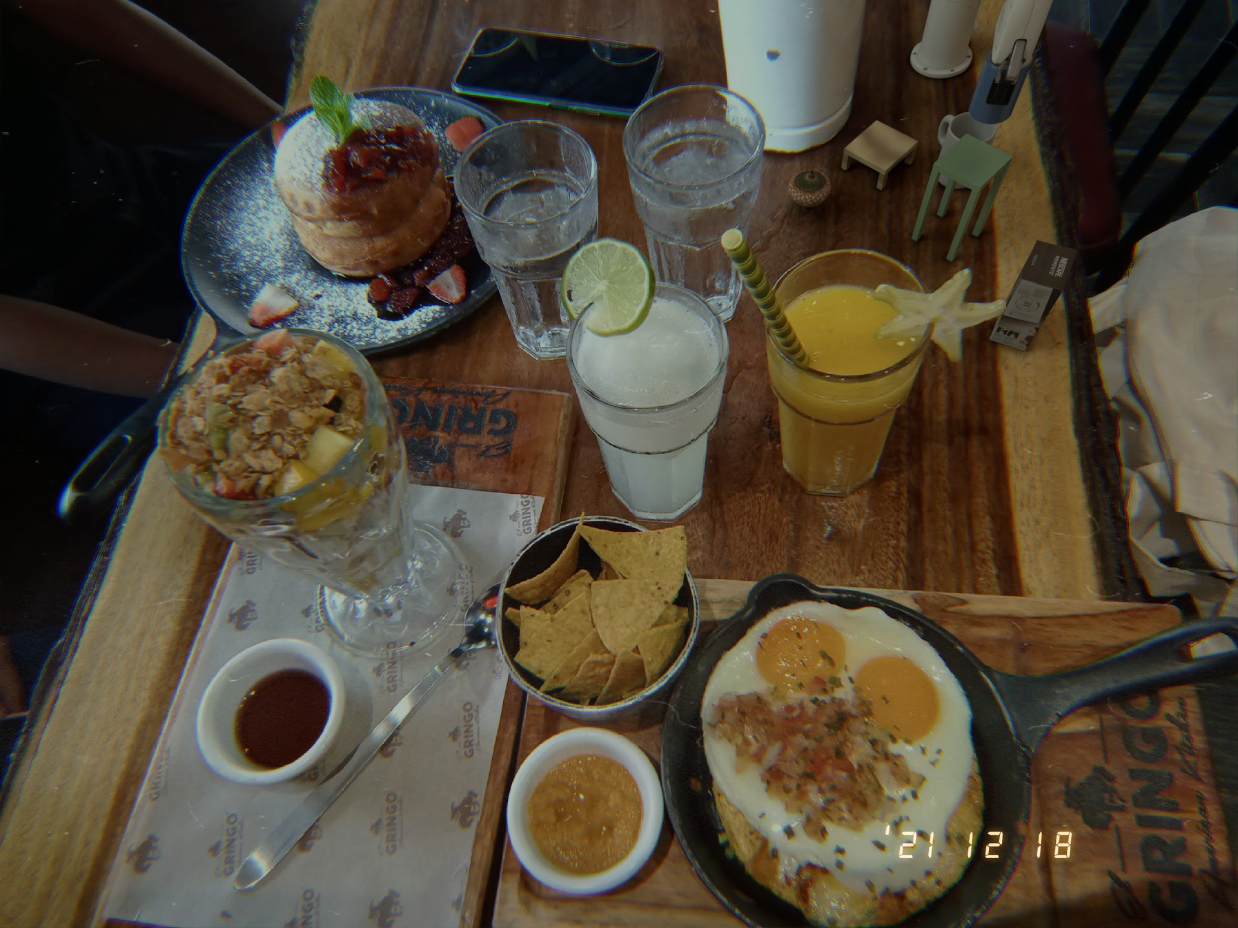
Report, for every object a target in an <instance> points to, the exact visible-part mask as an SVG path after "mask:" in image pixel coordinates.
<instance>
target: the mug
mask: <svg viewBox="0 0 1238 928" xmlns="http://www.w3.org/2000/svg"><path fill="white" fill-rule="evenodd" d="M947 126H948V127H947ZM997 130H998V126H997V124H984V123H981V122H978V121H976V120H975V119H973V118H972V117H971V115H970V113H969V111H967V112H962V113H960V114H958V115H953V114H947V115H945V116H944V117H943V118H942V120H941V122H940V124H939V127H938V131H937V142H938V143H939V145H940V146H941V150H940V152H939V156H938V159H939V158H940V157H942V156H943V155H944V154H945V153H946V152H947V151H948V150H949V149H950V148H951V147H952V146H954V145H955V144H956V143H957V142H958V141H959V140H960V139H961V138H962V137H963V136H964V135H966V134H968V135H970V136H973V137H975V138H977V139H979V140H981V141H983V142H985V143H987V144H989V145H991V146H993V143H994V141H995V138H996V134H997V132H998V131H997ZM948 179H949V177H947V176H945V175H943V174H940V177H939V180H938V183H940V184H941V185H942V186H943V187H946V185H947V182H948ZM962 189H968V187H966V186H964V185H962V184H960V183H958V182H957V183H956V185H955V188H954V190H962Z"/></svg>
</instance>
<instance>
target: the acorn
mask: <svg viewBox="0 0 1238 928" xmlns="http://www.w3.org/2000/svg"><path fill="white" fill-rule="evenodd" d="M831 183H832V182H831V180H830V178H829V177H828V176H827V175H826V174H824V173H823V172H821V171H819V170H815V169H811V170H809V169H808V170H807V169H806V170H802V171H798V172H796V173H795V174H794V175H793V176H792V177H791V178H790V180H789V181H788V185H787V194H788V196H789V198H790V199H791V200H792V201H793V202H794V204H796V205H798V206H799V207H803V212H807V211H809V210H810V209H811V208H813V207H817V206H818V205H821V204H822V203H823V202H825V201H826V200H827V198H828V197H829V195H830V194H831V191H832V184H831Z"/></svg>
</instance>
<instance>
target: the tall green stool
mask: <svg viewBox="0 0 1238 928" xmlns="http://www.w3.org/2000/svg"><path fill="white" fill-rule="evenodd" d="M1013 158H1014V156H1013V155H1012V154H1009V153H1007V152H1005V151H1004V150H1001V149H999V148H997V147H996V146H993V145H989V144H987V143H985V142H983V141H981V140H979V139H977V138H975V137H973V136H970V135H968V134H966V135H964V136H963V137H962V138H961V139H960V140H959V141H958V142H957V143H956V144H955V145H954V146H952V147H951V148H950V149H949V150H948V151H947V152H946V153H945V154H944V155H943V156H942V157H940V158H939V157H938V159H937V160H936V161H935V162H934V163H933V164H932V168H931V172H930V175H929V179H928V181H927V184H926V185H927V186H926V189H925V192H924V196H923V199H922V202H921V204H920V208H919V211H918V215H917V218H916V222H915V224H914V229H913V231H912V235H911V240H913V241H915V242H918V240H920V238H921V236H922V233H923V230H924V226H925V223H926V221H927V218H928V215H929V212H930V208H931V205H932V202H933V198H934V196H935V191H936V190H937V186H938V183H939V181H938V180H939V177H940V174H943V175H945V176H947V177H949V179H948V182H947V185H946V186H945V188H944V190H943V195H942V198H941V200H940V204H939V205H938V206H939V207H938V210H937V212H936V215H937V216H939V217H940V218H943V217H944V216H945V215H946V214H947V212H948V208H949V206H950V203H951V201H952V197H953V195H954V194H953V193H954V191H955V189H954V188H955V185H956V183H957V182H958V183H960V184H962V185H964V186H966V187H967V189H970V190H971V192H970V194H969V197H968V200H967V202H966V205H965V208H964V210H963V213H962V215H961V219H960V221H959V223H958V226H957V229H956V230H955V231H956V232H955V233H954V237H953V239H952V242H951V245H950V248H949V250H948V254H947V256H946V258H945V259H947V261H949V262H953V261H954V260H955V259H956V258H957V256H958V253H959V250H960V248H961V245H962V243H963V240H964V237H965V235H966V232H967V229H968V227H969V225H970V223H971V220H972V217H973V216H974V215H973V214H974V212H975V210H976V206H977V204H978V203H979V199H980V196H981V194H982V191H983V189H984V188H985V187H986V186H988V184H989V183H990V182H992V183H991V185H990V188H989V191H988V193H987V196H986V198H985V200H984V203H983V205H982V207H981V210H980V213H979V215H978V218H977V220H976V222H975V225H974V228H973V230H972V233H971V235H972V236H975V237H979V236H980V235H981V234H982V233H983V230H984V227H985V225H986V223H987V220H988V218H989V216H990V213H991V211H992V209H993V206H994V203H995V201H996V199H997V196H998V195H999V192H1000V190H1001V186H1002V184H1003V182H1004V180H1005V177H1006V175H1007V172H1008V170H1009V168H1010V166H1011V163H1012V161H1013Z"/></svg>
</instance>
